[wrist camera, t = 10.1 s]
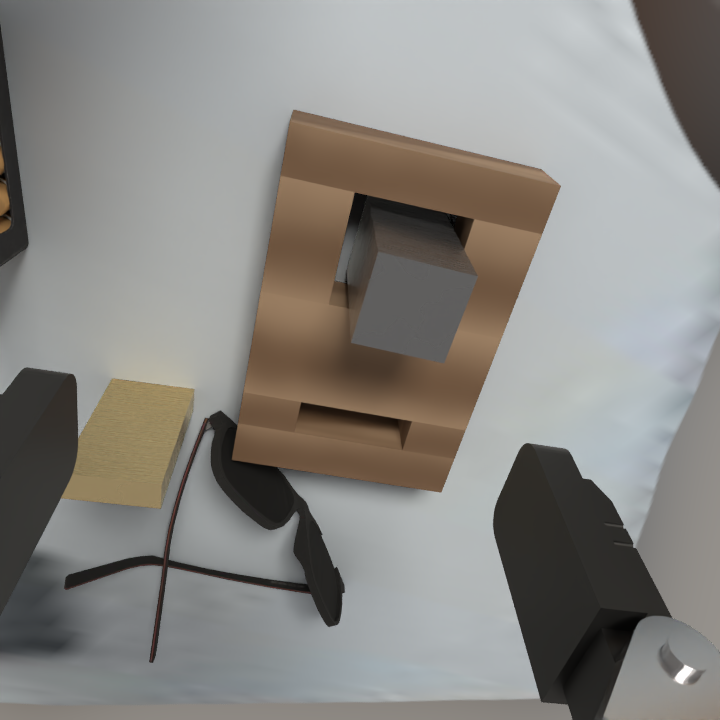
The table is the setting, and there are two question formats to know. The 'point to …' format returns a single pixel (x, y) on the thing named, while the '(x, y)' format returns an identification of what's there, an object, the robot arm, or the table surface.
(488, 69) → the table surface
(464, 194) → the bore block
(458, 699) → the table surface
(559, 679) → the robot arm
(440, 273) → the square bit
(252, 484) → the sunglasses
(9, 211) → the ammunition clip
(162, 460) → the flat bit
